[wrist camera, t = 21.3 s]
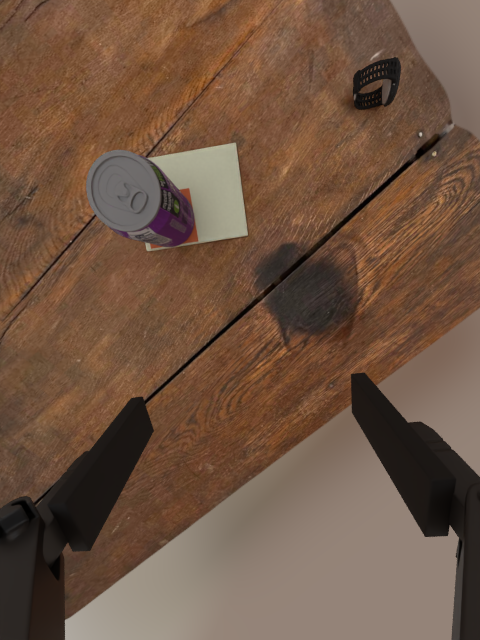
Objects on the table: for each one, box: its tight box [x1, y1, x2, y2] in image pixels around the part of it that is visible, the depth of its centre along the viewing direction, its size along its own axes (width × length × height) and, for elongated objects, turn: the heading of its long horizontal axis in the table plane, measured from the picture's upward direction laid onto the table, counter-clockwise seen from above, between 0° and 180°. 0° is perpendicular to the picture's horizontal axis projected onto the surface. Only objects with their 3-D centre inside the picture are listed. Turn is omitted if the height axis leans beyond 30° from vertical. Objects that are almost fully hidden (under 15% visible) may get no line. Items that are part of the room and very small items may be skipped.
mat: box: [145, 143, 248, 251], centre depth 31 cm, size 14×11×1 cm
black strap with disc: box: [353, 57, 401, 110], centre depth 26 cm, size 4×5×5 cm
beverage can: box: [86, 150, 194, 247], centre depth 25 cm, size 7×7×12 cm
